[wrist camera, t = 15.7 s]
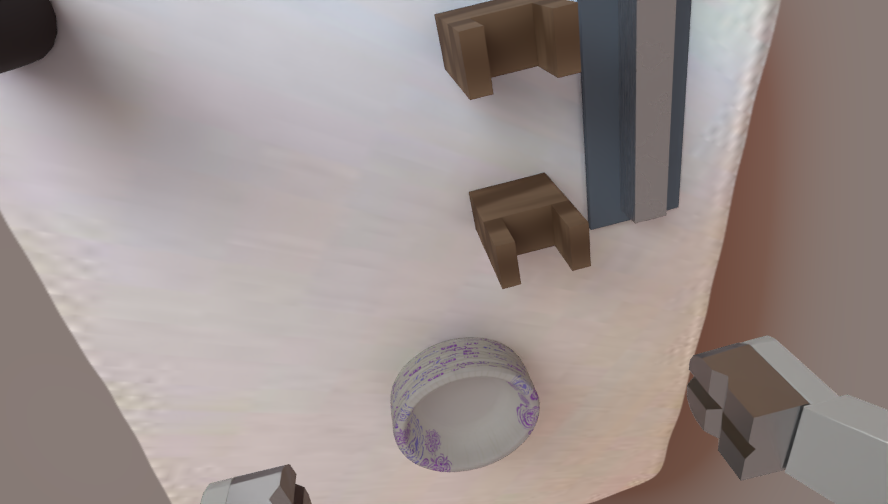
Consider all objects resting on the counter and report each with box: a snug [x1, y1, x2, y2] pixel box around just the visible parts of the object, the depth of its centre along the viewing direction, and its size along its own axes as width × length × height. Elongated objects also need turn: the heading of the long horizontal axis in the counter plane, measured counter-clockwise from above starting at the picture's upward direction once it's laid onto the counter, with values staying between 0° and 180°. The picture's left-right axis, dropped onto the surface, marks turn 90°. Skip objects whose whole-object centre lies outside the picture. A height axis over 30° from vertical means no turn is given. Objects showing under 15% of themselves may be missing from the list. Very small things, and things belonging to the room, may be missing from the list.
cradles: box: [435, 0, 591, 289], centre depth 38 cm, size 19×7×10 cm, turn 12°
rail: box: [618, 0, 676, 223], centre depth 41 cm, size 22×3×3 cm, turn 12°
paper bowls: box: [391, 338, 540, 472], centre depth 53 cm, size 15×15×8 cm
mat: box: [577, 0, 691, 230], centre depth 42 cm, size 25×9×1 cm, turn 12°
